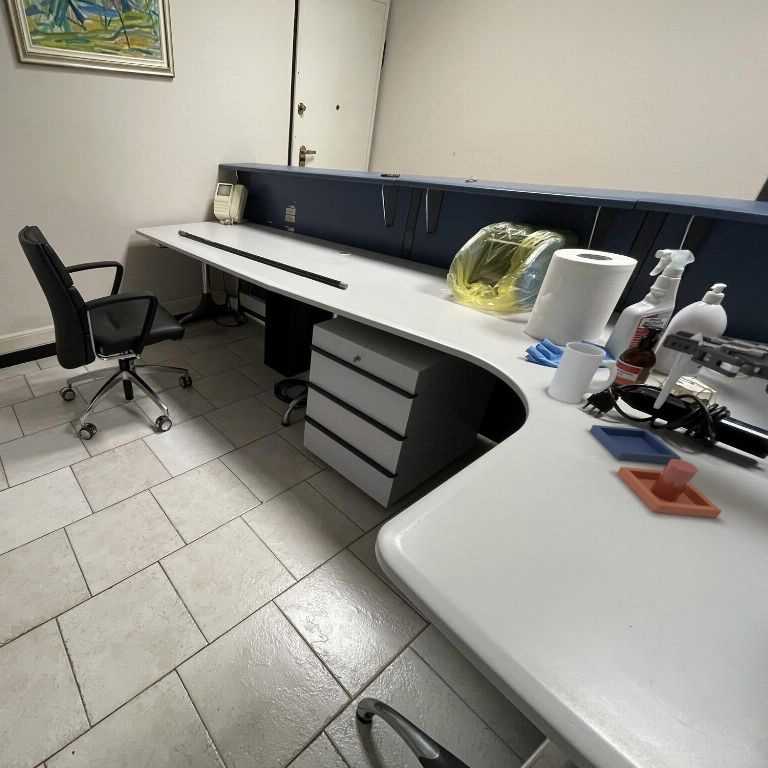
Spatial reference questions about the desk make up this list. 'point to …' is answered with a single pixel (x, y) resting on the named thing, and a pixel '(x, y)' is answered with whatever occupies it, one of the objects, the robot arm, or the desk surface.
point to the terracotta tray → (686, 504)
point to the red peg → (673, 480)
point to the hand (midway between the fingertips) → (670, 338)
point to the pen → (676, 373)
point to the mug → (579, 372)
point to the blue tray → (633, 444)
